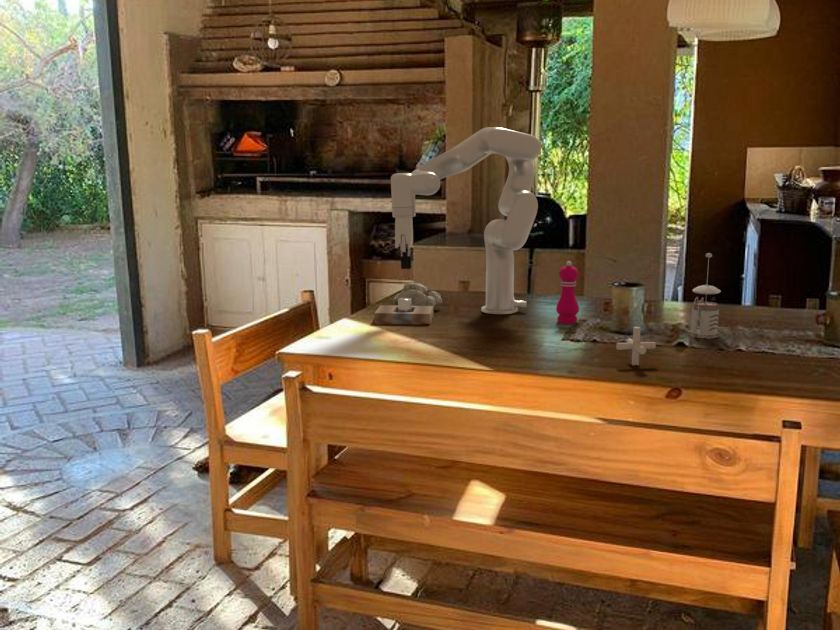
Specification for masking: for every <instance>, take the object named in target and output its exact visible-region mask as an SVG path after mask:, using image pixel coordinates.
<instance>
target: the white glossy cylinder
mask: <svg viewBox="0 0 840 630" xmlns="http://www.w3.org/2000/svg"><path fill="white" fill-rule="evenodd" d="M411 306H412V305H411V298H399V299H398V312H411Z"/></svg>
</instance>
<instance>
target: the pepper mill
mask: <svg viewBox="0 0 840 630" xmlns="http://www.w3.org/2000/svg"><path fill="white" fill-rule="evenodd" d="M558 274H559V275H558V276H559V278H560V279H561V280H560V286H561V295H560V297H559V300H558V302H557V304H556V308H555V309H556V310H555V311H556V313H558V316H557V318H556V319H557V323H558V324H561V325H574V324H573V323H575V324H577V323H578V317H577V316H576V315H578V313H579V312H580V307H579V302H578V300H577V297H576V294H575V288H576V286H577V281H576V280H577V279H578V277H579V271H578V268H577V267H575V266H573V263H572V261H570V260H567V262H566V263H565V265H564V266H562V267H561V268H560V270H559V273H558ZM576 322H577V323H576Z"/></svg>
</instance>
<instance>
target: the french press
mask: <svg viewBox="0 0 840 630" xmlns="http://www.w3.org/2000/svg"><path fill="white" fill-rule="evenodd" d="M712 257H713V254H712V253H711V252H708V253H707V252H706V254H705V258H707V259H708V260H707V269H709V267H710V265H709V264H710V263H709V262H710V258H712ZM706 273H707V276H706V284H702V285H698V286H696V287H694V288H693V289H692V293H695V294H700V295H705V299H707V295H717V294H721V292H722V291H721V289H719V288H718V287H716V286H714V285H709V284H708V279H709V271H707V272H706ZM692 304H693V306H692V307H691V316H690V317H691V318H690V330H689V332H690V331H691V332H692V333H694V334H698V335H716V334H717V333H718V328H719V326H718V325H719V317H720V316H719V315H720V309H719V308H717V307H718V306H719V304H718V303H717V302H713V301H707V300H705V301H704V297H701V299H700V300H699V296H696V297H695V298H694V301H693V302H692ZM699 314H700V315H699Z"/></svg>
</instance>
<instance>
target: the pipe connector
mask: <svg viewBox="0 0 840 630" xmlns="http://www.w3.org/2000/svg"><path fill="white" fill-rule="evenodd" d="M632 329H633V330H632V331H633V332H632V338H627V339H626V342H616V344H615V345H616V348H615V349H616V350H620V351H621V350H631V366H635V365H637V366H639V364H640V355H645V354H646V353H647V350H652V349H653V350H654V349H656V346H657V345H656V344H657V343H656V342H655V341H641V329H642V328H641V327H640V326H633V328H632Z"/></svg>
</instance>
